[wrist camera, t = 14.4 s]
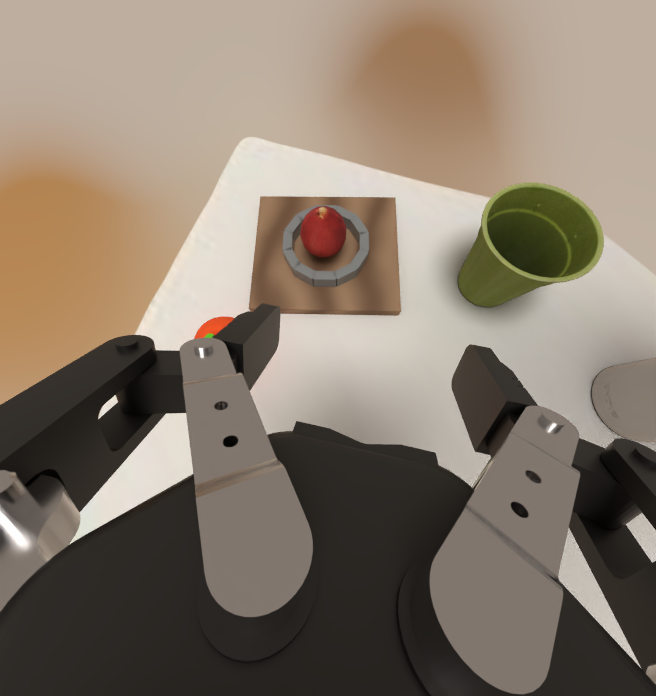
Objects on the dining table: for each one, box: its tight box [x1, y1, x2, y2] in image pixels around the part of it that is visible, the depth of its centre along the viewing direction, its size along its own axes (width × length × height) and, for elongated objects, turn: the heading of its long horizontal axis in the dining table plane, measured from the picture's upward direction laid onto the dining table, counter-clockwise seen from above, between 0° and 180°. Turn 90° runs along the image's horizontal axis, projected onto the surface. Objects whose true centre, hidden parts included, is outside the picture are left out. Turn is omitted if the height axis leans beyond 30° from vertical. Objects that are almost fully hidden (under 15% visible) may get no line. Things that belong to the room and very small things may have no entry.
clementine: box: [194, 317, 234, 339], centre depth 32 cm, size 8×7×7 cm
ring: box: [282, 205, 369, 287], centre depth 37 cm, size 11×11×2 cm
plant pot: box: [458, 183, 604, 307], centre depth 33 cm, size 12×12×11 cm
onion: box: [300, 206, 347, 257], centre depth 34 cm, size 6×6×8 cm
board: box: [249, 197, 401, 315], centre depth 39 cm, size 20×18×2 cm
